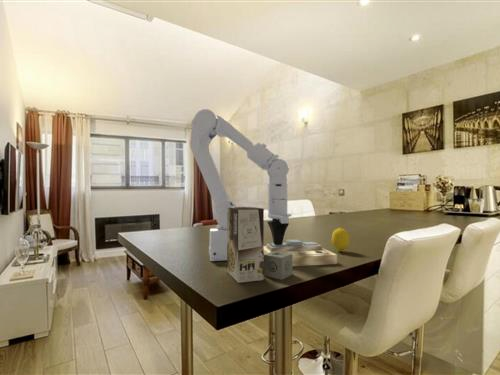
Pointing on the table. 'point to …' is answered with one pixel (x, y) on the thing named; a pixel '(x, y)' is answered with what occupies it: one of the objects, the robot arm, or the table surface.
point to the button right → (309, 243)
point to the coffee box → (245, 243)
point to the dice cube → (278, 265)
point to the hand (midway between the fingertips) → (278, 244)
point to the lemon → (340, 239)
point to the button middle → (293, 243)
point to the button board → (305, 254)
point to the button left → (277, 245)
